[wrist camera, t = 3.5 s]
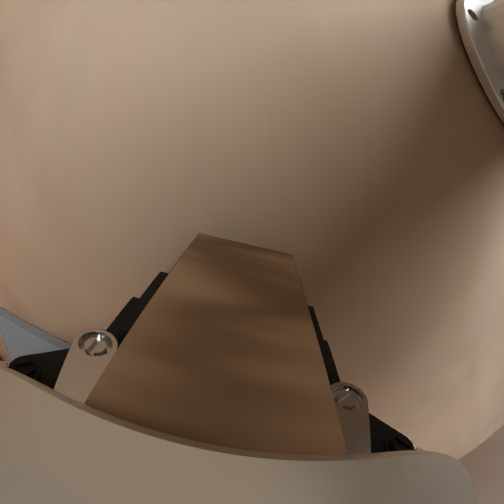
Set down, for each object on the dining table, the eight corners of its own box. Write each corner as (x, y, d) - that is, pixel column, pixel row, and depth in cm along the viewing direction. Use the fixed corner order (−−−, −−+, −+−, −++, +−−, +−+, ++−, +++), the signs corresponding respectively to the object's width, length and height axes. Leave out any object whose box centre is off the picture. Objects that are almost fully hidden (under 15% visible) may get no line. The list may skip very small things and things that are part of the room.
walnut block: (291, 255, 13) (356, 493, 3) (267, 331, 15) (272, 538, 4) (199, 233, 13) (62, 441, 2) (185, 312, 14) (110, 507, 4)
